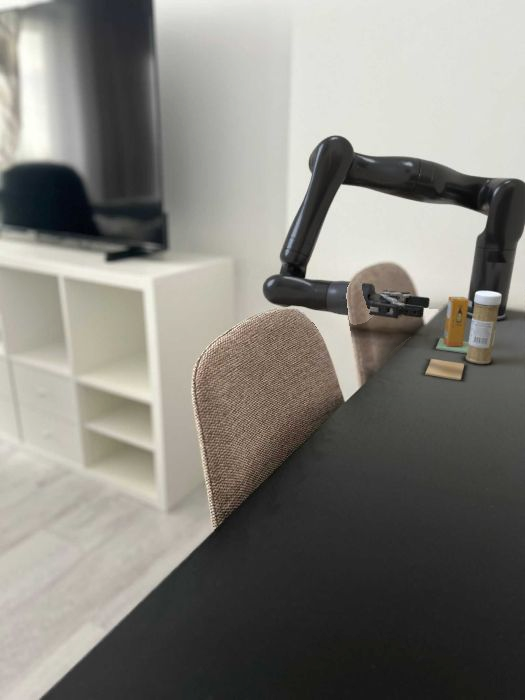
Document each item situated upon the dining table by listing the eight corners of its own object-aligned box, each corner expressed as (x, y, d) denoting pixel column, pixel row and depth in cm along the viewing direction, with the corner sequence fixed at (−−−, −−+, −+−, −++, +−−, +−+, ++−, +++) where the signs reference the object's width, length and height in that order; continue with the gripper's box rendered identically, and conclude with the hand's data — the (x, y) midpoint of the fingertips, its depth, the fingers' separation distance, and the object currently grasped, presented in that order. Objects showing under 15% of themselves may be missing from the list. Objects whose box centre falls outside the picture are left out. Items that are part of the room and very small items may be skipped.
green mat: (439, 339, 111) (440, 337, 111) (469, 343, 109) (469, 341, 109) (436, 349, 105) (436, 347, 105) (467, 353, 103) (467, 351, 103)
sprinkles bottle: (494, 361, 99) (506, 293, 95) (484, 366, 96) (495, 296, 92) (471, 355, 102) (481, 288, 98) (460, 360, 99) (471, 292, 95)
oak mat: (431, 360, 99) (431, 358, 99) (464, 365, 96) (464, 363, 96) (425, 374, 92) (425, 372, 92) (460, 380, 90) (461, 378, 89)
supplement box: (458, 342, 108) (465, 296, 105) (462, 347, 105) (469, 300, 102) (442, 341, 109) (448, 295, 105) (446, 346, 106) (452, 299, 102)
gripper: (342, 288, 106) (423, 296, 100) (360, 276, 118) (433, 283, 112) (340, 323, 108) (419, 333, 102) (357, 307, 121) (428, 316, 114)
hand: (426, 307), depth 107 cm, fingers open, 8 cm apart
